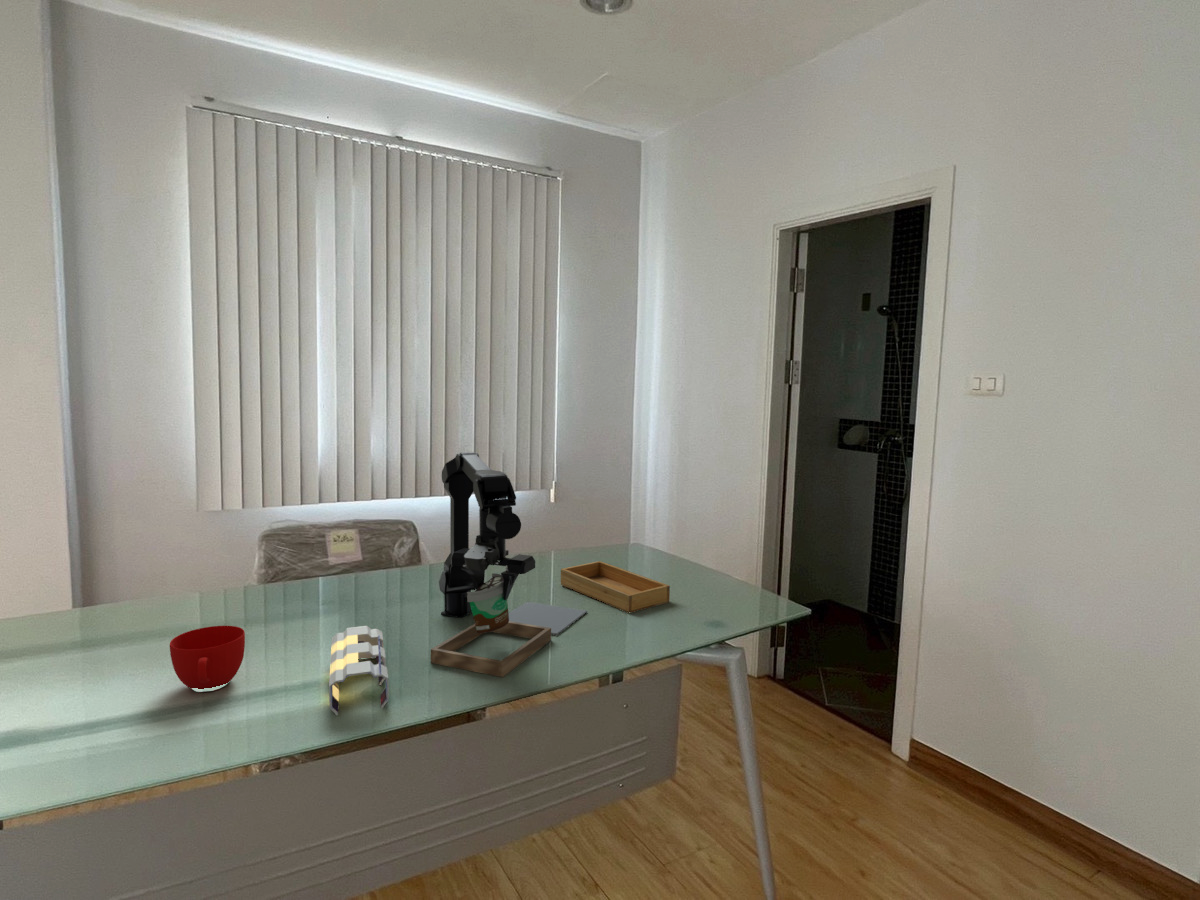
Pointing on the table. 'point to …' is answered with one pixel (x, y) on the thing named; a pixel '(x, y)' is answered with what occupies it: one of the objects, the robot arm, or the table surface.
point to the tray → (615, 586)
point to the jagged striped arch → (356, 660)
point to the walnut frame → (448, 657)
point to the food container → (489, 605)
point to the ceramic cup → (208, 655)
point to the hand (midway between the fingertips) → (493, 598)
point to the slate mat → (546, 616)
